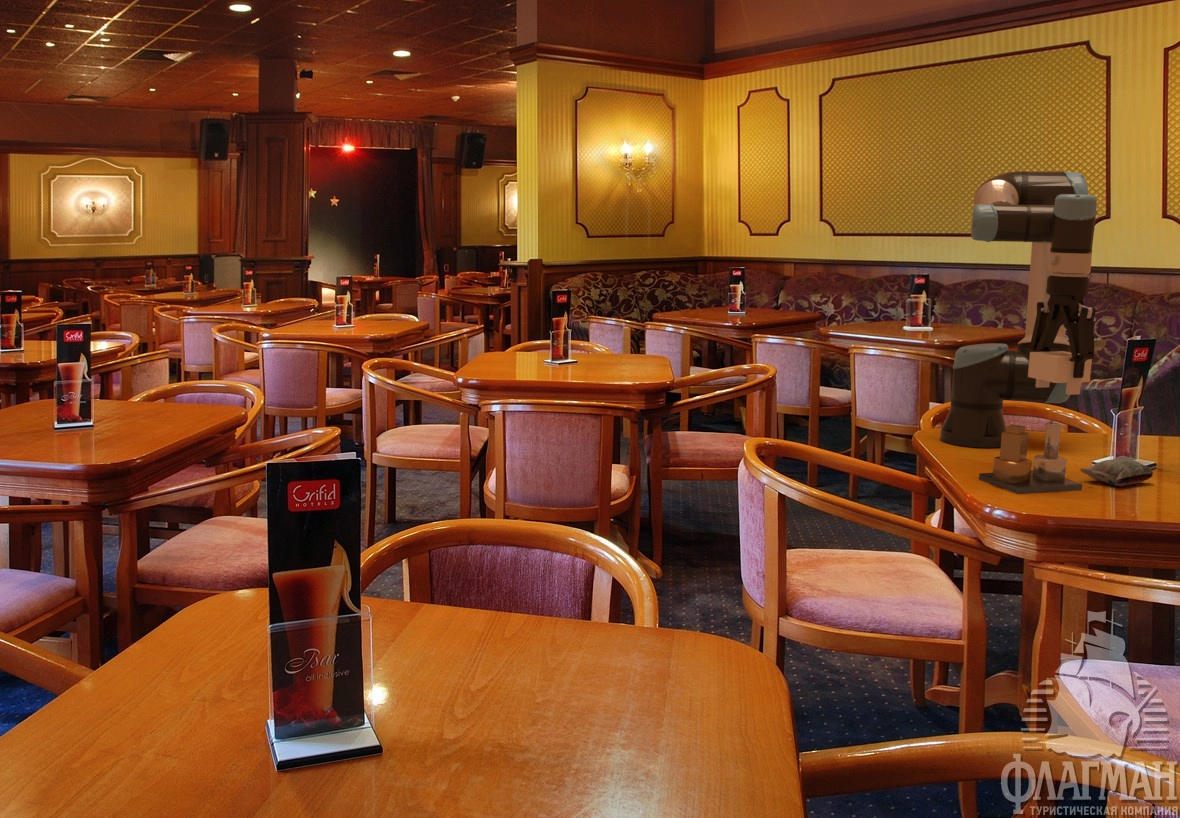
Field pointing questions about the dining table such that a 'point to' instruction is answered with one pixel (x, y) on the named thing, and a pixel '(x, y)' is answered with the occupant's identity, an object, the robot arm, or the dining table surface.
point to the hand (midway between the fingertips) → (1057, 390)
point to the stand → (1050, 457)
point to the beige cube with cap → (1054, 366)
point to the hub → (1013, 457)
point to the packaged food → (1119, 472)
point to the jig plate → (1033, 484)
